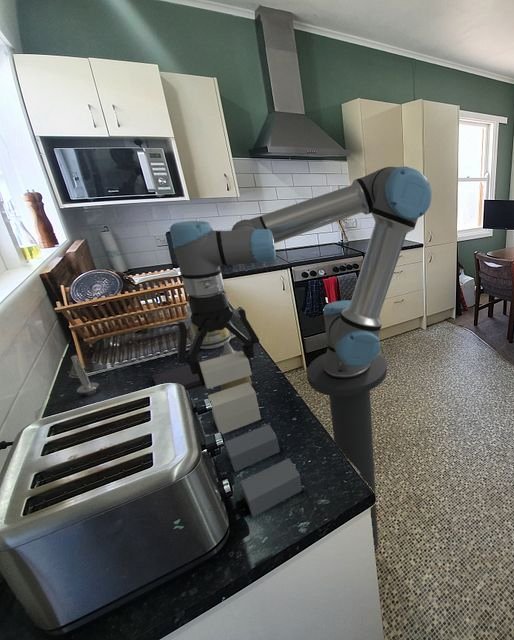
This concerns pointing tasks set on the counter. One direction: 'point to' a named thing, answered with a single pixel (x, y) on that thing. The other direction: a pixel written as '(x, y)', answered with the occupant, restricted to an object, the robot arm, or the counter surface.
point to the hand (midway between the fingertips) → (227, 375)
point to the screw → (84, 379)
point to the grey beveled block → (271, 486)
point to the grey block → (252, 447)
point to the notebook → (179, 376)
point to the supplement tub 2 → (210, 335)
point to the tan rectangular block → (225, 369)
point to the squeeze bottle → (236, 382)
